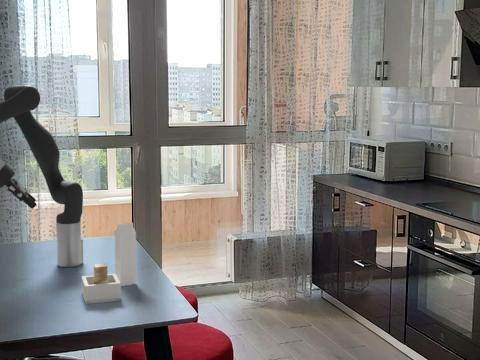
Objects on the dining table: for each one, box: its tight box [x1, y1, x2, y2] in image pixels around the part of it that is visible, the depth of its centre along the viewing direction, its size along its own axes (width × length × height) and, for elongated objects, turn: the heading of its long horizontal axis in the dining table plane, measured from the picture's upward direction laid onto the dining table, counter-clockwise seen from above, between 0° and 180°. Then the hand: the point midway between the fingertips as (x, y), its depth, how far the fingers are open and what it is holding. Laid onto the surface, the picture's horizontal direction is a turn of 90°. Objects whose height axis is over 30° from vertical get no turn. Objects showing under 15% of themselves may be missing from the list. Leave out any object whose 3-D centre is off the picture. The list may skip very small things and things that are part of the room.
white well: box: [81, 273, 122, 305], centre depth 204 cm, size 11×11×6 cm
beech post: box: [93, 263, 108, 284], centre depth 204 cm, size 4×4×10 cm
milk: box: [114, 222, 137, 287], centre depth 219 cm, size 6×6×22 cm
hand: (34, 204), depth 203 cm, fingers open, 8 cm apart
